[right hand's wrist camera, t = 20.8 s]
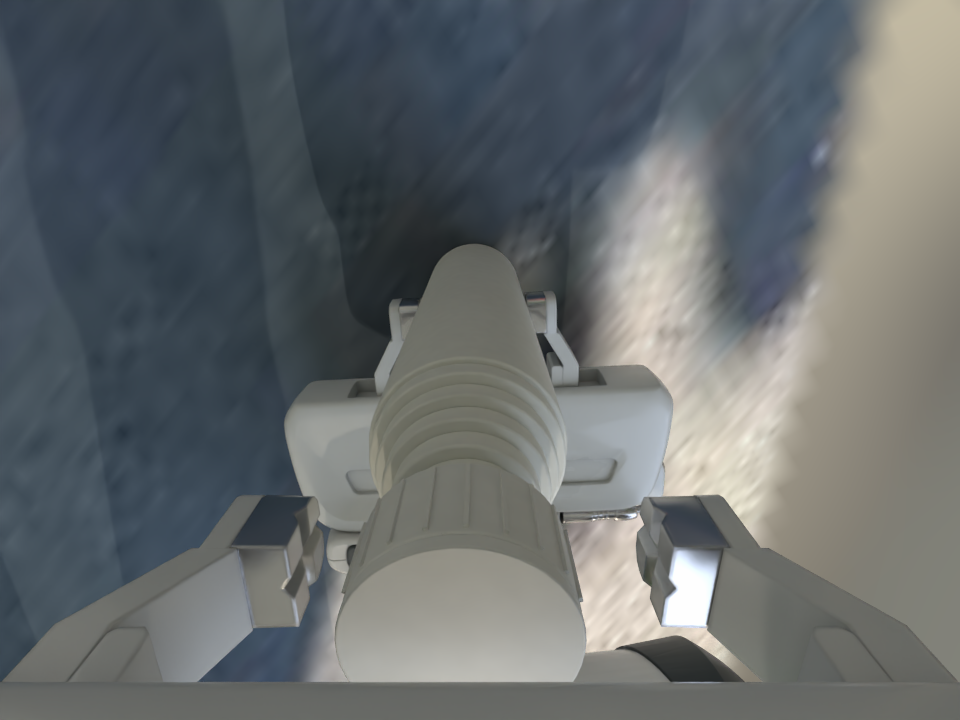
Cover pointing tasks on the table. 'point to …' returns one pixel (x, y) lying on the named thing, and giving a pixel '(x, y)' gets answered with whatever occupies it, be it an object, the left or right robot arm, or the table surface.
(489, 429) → the bottle
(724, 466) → the table surface
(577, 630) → the cap
